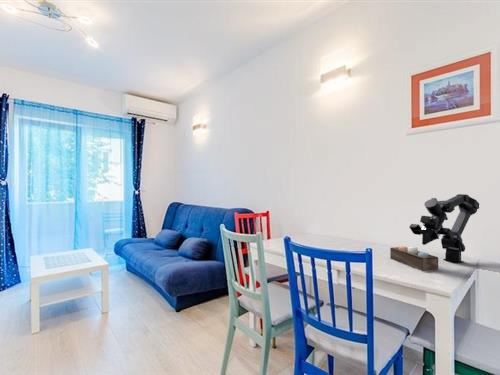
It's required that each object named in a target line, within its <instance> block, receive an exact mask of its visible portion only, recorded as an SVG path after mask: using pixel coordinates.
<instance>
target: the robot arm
mask: <svg viewBox="0 0 500 375" xmlns="http://www.w3.org/2000/svg"><path fill="white" fill-rule="evenodd" d="M423 204H424V206H425V209H426V210H427V212H428V213H429V214H430V216H429V215H421V217H420V220H419V222H420V223H422V226H421V225H420V224H417V223H416V224H415V223H411V224H410V225H409V229H410V231H411V232H412V233H413V234H414V235H419V236H421V235H422V236H421V239H422V240H421V243H422V245H423V246H426V245H428V244H429V243H431V242H433V241H435V240H439V239H440V236H441V235H442V236H441V237H442V238H441V239H440V243H441V248H442V249H445V258H443V260H444V261H446V262H450V263H453V264H457V263H458V264H459V263H460V264H461V263H465V261H464V260H462V252H463V253H465V251H466V246H465V244H464V243H463V242H464V241H463V238H462V234H463V232H464V230H465V228H466V226H467V224H468V222H469V219H470V217H471V216H472V215H475V214H477V211H478V210H479V209H480V207H479V205H480V203H479V201H478V200H477V199H475V198H473V197H471V196H469V194H462V193H461V194H459V193H458V194H456V195H455V196H453V197H451V198H449V199H447V200H438V199H437V198H436V197H431V199H428V200H426V201H424V203H423ZM456 207H458V209H459V213H458V215H457V217H456V219H455V221H454V223H453V225H452V227H451V228H450V227H449V228H448V227H444V226H443V224H444V222H445V221H448V220H449V219H448V218H449V217H448V215H447V214H451V213H452V212H454V211H455V208H456ZM477 209H478V210H477Z"/></svg>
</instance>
